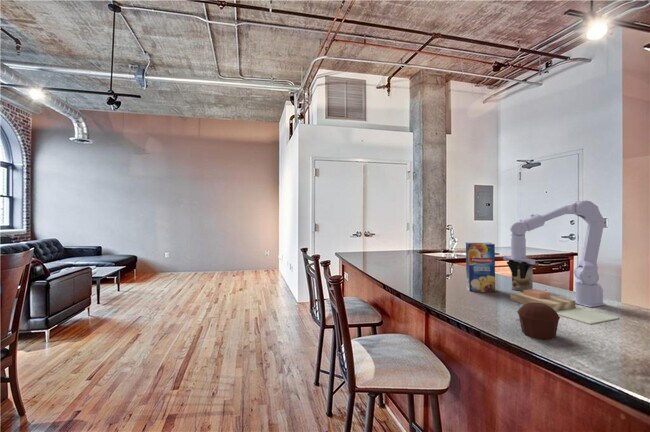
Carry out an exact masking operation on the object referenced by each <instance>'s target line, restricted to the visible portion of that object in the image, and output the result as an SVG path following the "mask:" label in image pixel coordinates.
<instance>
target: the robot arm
mask: <svg viewBox="0 0 650 432" xmlns="http://www.w3.org/2000/svg"><path fill="white" fill-rule="evenodd" d="M600 211H601V210H600V209H599V206H598V205H596V204H595V203H594V202H592V201H590V200H578V201H575V202H572V203H571V202H570V203H568V204H565V205H561V206H560V207H557V208H554V209H553V210H551V211H549V212H547V213H544V214H542V215H540V214H538V213H537V214H530V215H529V217H526V218H524V219H521V218H520V219H519V221H517V222H514V223H511V226H510V227H509V229H510V232H511V235H510V236H511V238H510V247H511V248H510V250H511V253H510V254H511V255H503V257H502V258H503V261H506V264H507V265H508V267H509V269H510V272H511V277H512V276H513V277H517V274H518V266H519V269H520V278H521V279H523V278H525V277H526V273H527V271H528V269H529V267H530V266H531V264H533V265H536V259H534V258H532V259H529V257H527V245H526V244H527V240H526V233H527V232H530V231H533V230H535V229H538V228H541V227H543V226H545V223H546V222H548V221H550V220H553V219H556V218H559V217H561V216H565V215H575V216H578V217H579V218H581V219H582V220H583V221H585V223H586V224H587V226H586V233H585V237H584V243H583V248H582V253H581V257H580V258H581V259H580V260H579V262H578V264H577V266H576V267H575V269H574V272H573V274H574V276H575V278H576V279H575V288H574V289H575V293H574V294H575V300H574V301H575V305H580V306H583V307H588V308H594V307H595V308H596V307H600V306H606V303H604V290H603V287H602V285H600V284H599V283H598V282H599V279H600V275H599V272H598V271H599V270H598V269H599V266H598V263H597V262H598V257H599V251H600V246H601V241H602V235H603V230H604V226H605V218H604V217H603V215H602V213H601V212H600ZM518 260H520V261H518ZM519 262H521V263H519Z"/></svg>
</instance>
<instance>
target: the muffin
mask: <svg viewBox="0 0 650 432" xmlns="http://www.w3.org/2000/svg"><path fill="white" fill-rule="evenodd" d="M516 312H517V314H518V317H519V318H518V319H519V322H520V323H519V324H520V328H521V329H520V330H521V332H522V334H524V335H525V336H526V337H529V338H532V339H536V340H542V341H553V340H554V339H555V338H556V336H557V331H558V328H559V321H560V319H561V316H560V315H558V314H557V313H556V311H555V310H554V309H553V308H551V307H550V306H548V305H546V304H543V303H537V302H532V303H527V304H522V306H520V307H519V309H518V310H517V311H516Z"/></svg>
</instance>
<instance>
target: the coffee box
mask: <svg viewBox="0 0 650 432" xmlns="http://www.w3.org/2000/svg"><path fill="white" fill-rule="evenodd" d="M528 258H529V257H528ZM529 259H533V258H529ZM518 261H520V260H518ZM519 263H521V262H519ZM533 265H534V264H531V266H530V267H529V269H528V271H527V273H526V277H525V278H523V279H521V278H520V269H519V266H518V274H517V277H513V276H512V275H511V290H514V291H520V292H523V290H529V289H534V285H533V283H534V277H533V276H534V275H533V273H534V271H533V267H534V266H533Z"/></svg>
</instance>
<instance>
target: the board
mask: <svg viewBox="0 0 650 432" xmlns="http://www.w3.org/2000/svg"><path fill="white" fill-rule="evenodd" d="M510 301H512V302H515V303H520V304H521V305H525V304H527V303H532V302H537V303H543V304H546V305H548V306H550V307H551V308H553V309H554V310H555V311H562V310H568V309H574V308H577V307H576V303H575V300H573V299H569V298H565V297H562V296H558V295H554V294H551V297H547V298H541V299H538V298H534V297H530V296H527V295H523V291H520V292H512V293H510Z"/></svg>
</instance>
